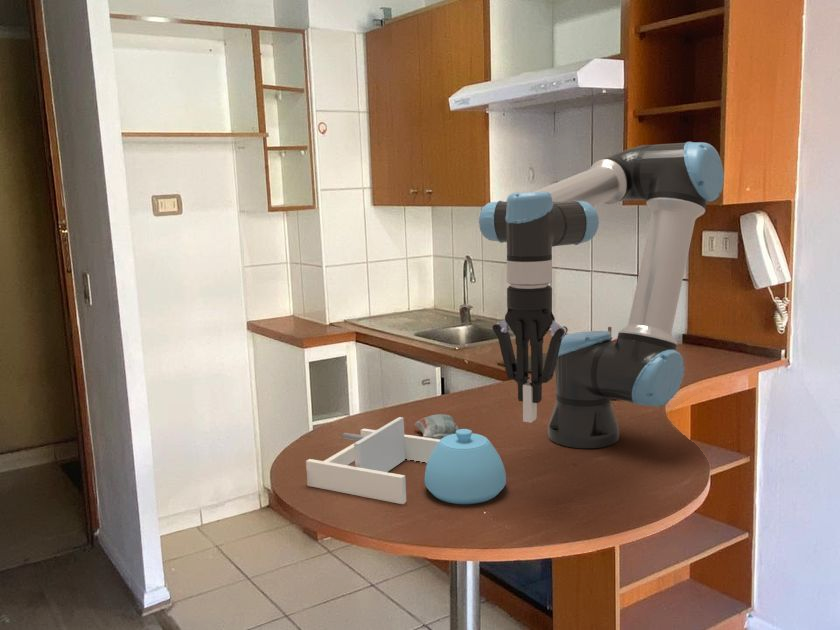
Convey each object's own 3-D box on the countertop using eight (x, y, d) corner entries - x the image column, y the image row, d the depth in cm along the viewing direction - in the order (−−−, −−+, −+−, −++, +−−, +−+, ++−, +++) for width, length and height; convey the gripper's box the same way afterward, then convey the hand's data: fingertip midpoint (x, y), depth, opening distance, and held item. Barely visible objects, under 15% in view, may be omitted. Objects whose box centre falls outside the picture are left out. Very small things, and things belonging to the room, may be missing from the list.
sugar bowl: (446, 514, 133) (444, 450, 131) (412, 484, 147) (409, 425, 145) (521, 497, 139) (520, 435, 137) (482, 469, 153) (480, 413, 150)
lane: (453, 465, 155) (452, 441, 154) (403, 504, 138) (401, 477, 137) (364, 450, 165) (363, 428, 164) (307, 485, 148) (305, 460, 147)
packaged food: (422, 449, 165) (421, 427, 164) (414, 431, 177) (414, 410, 176) (462, 446, 166) (462, 424, 166) (451, 429, 178) (451, 408, 177)
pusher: (405, 459, 158) (403, 417, 157) (361, 490, 144) (358, 444, 142) (368, 453, 163) (366, 412, 161) (321, 482, 148) (318, 437, 146)
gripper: (573, 283, 130) (573, 418, 134) (501, 280, 136) (503, 409, 140) (559, 289, 123) (559, 431, 127) (484, 286, 129) (486, 421, 134)
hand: (529, 419), depth 134 cm, fingers closed
